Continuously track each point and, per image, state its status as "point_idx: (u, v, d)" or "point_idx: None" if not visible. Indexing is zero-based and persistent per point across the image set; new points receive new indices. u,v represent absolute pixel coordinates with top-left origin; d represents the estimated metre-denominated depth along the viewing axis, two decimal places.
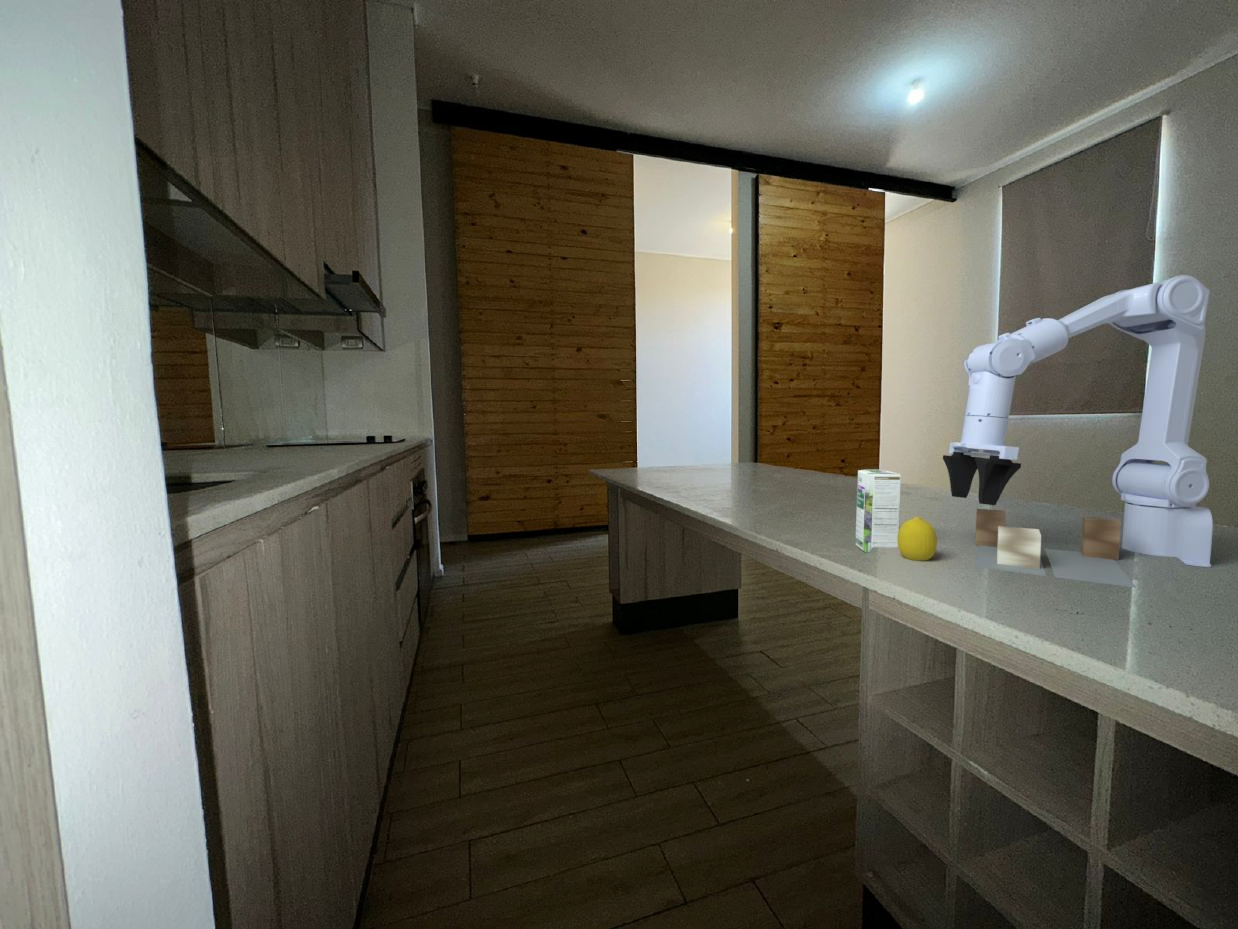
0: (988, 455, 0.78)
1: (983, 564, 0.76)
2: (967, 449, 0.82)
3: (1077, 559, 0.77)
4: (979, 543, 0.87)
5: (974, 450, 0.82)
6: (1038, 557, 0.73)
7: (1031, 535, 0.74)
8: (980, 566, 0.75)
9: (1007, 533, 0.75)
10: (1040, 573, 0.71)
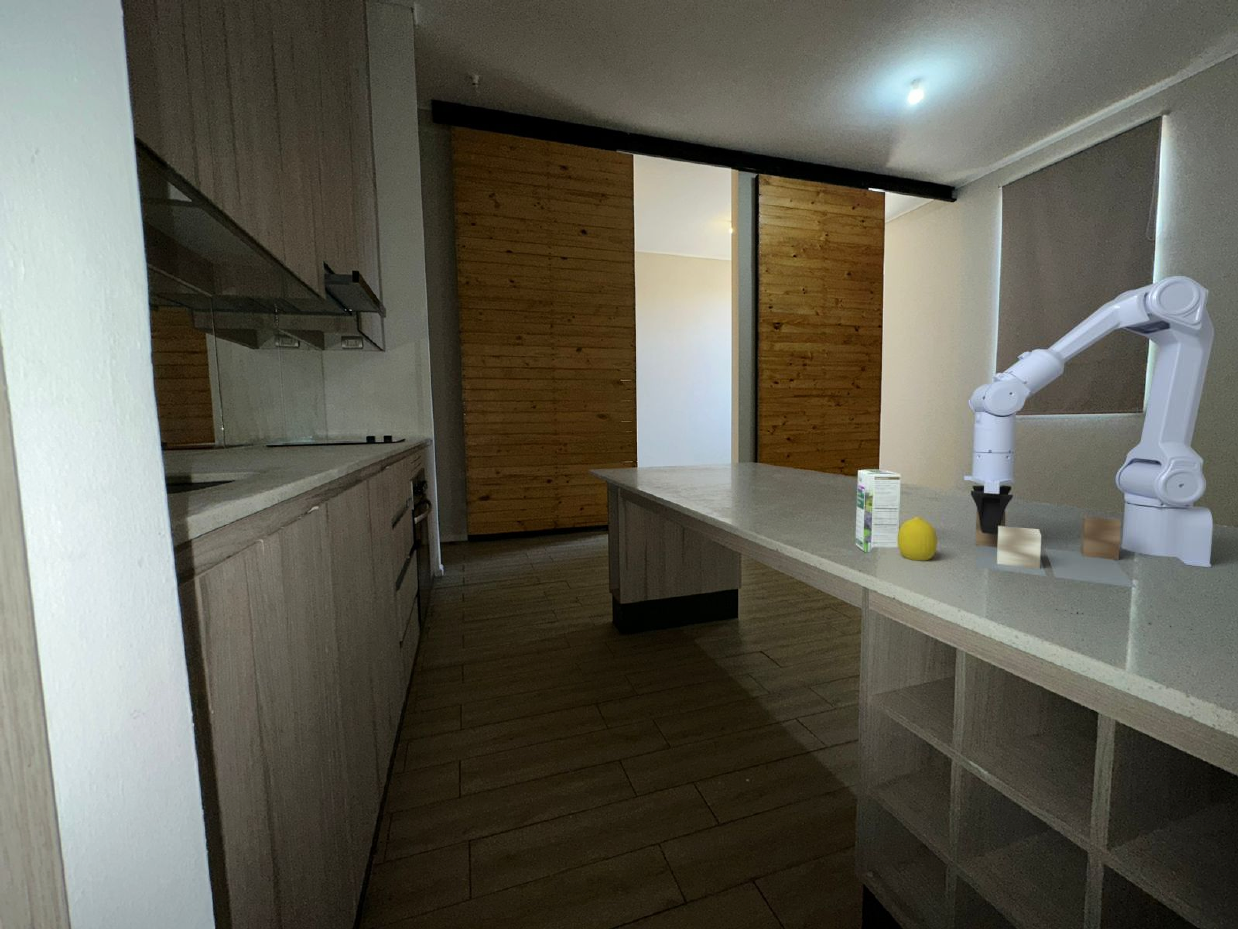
0: None
1: (983, 564, 0.76)
2: None
3: (1077, 559, 0.77)
4: (979, 543, 0.87)
5: None
6: (1038, 557, 0.73)
7: (1031, 535, 0.74)
8: (980, 566, 0.75)
9: (1007, 533, 0.75)
10: (1040, 573, 0.71)
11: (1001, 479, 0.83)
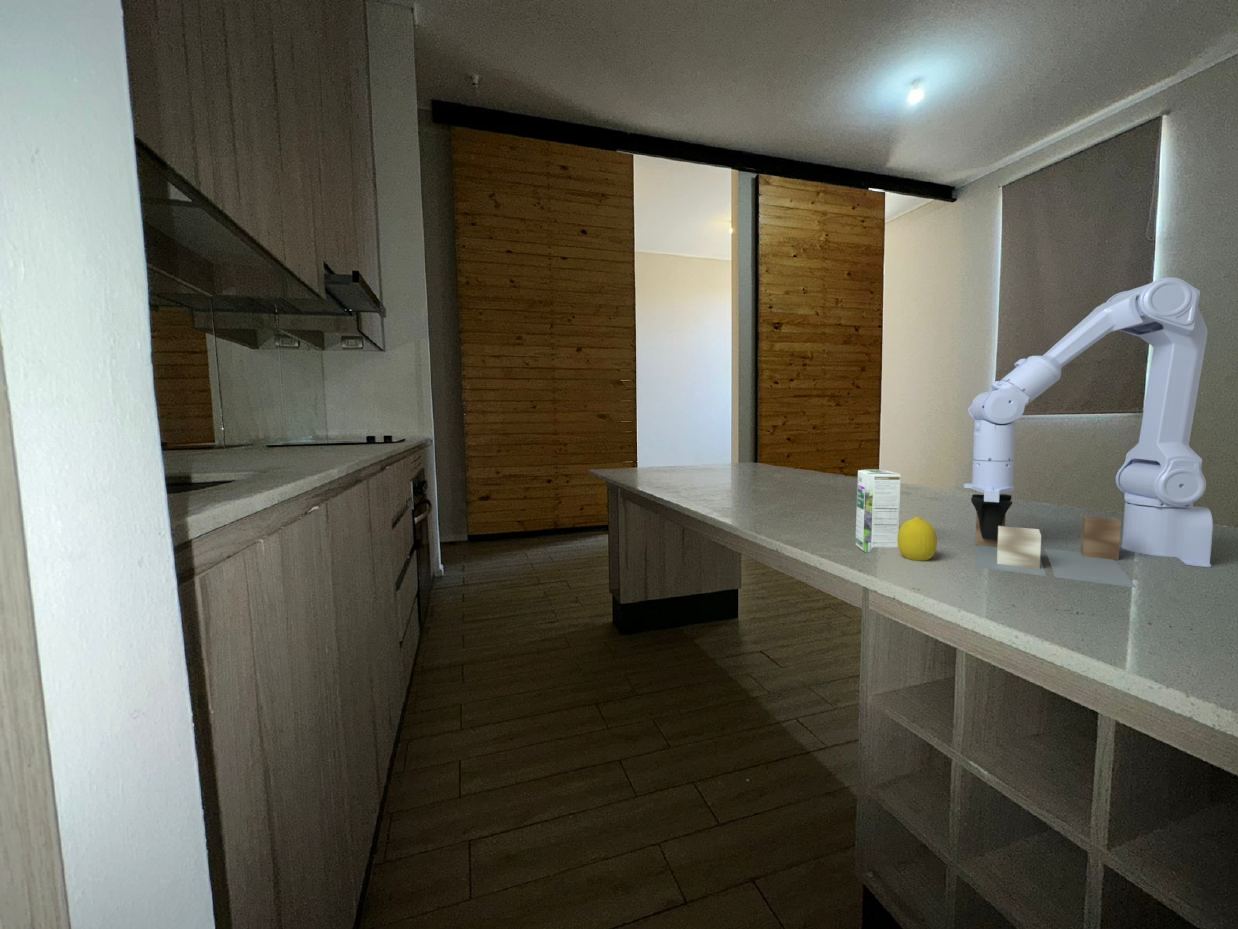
0: None
1: (983, 564, 0.76)
2: None
3: (1077, 559, 0.77)
4: (979, 543, 0.87)
5: None
6: (1038, 557, 0.73)
7: (1031, 535, 0.74)
8: (980, 566, 0.75)
9: (1007, 533, 0.75)
10: (1040, 573, 0.71)
11: (1001, 487, 0.83)
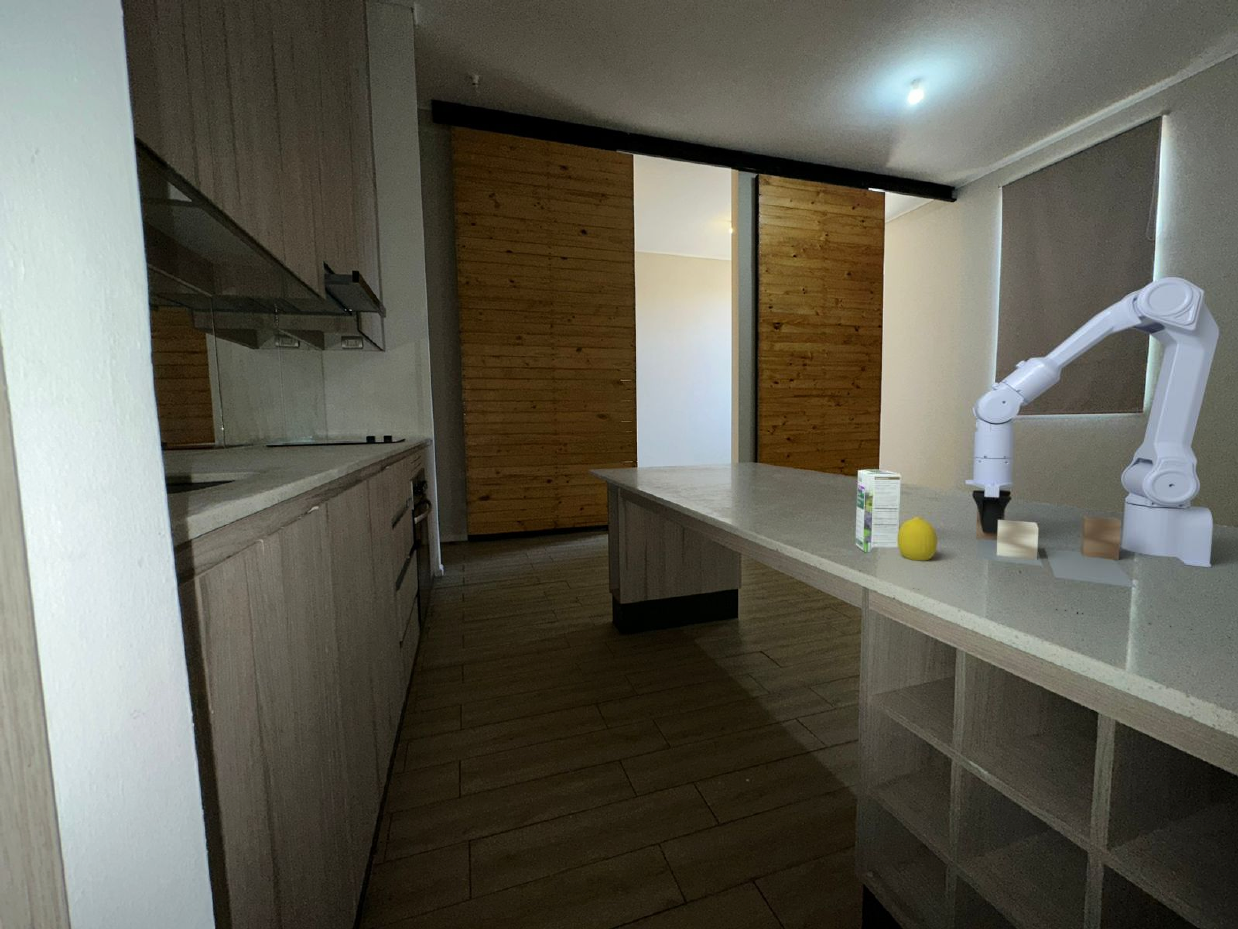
0: None
1: (983, 555, 0.81)
2: None
3: (1077, 559, 0.77)
4: (980, 536, 0.91)
5: None
6: (1035, 548, 0.78)
7: (1029, 528, 0.78)
8: (981, 557, 0.80)
9: (1006, 526, 0.80)
10: (1037, 563, 0.76)
11: (1000, 483, 0.88)
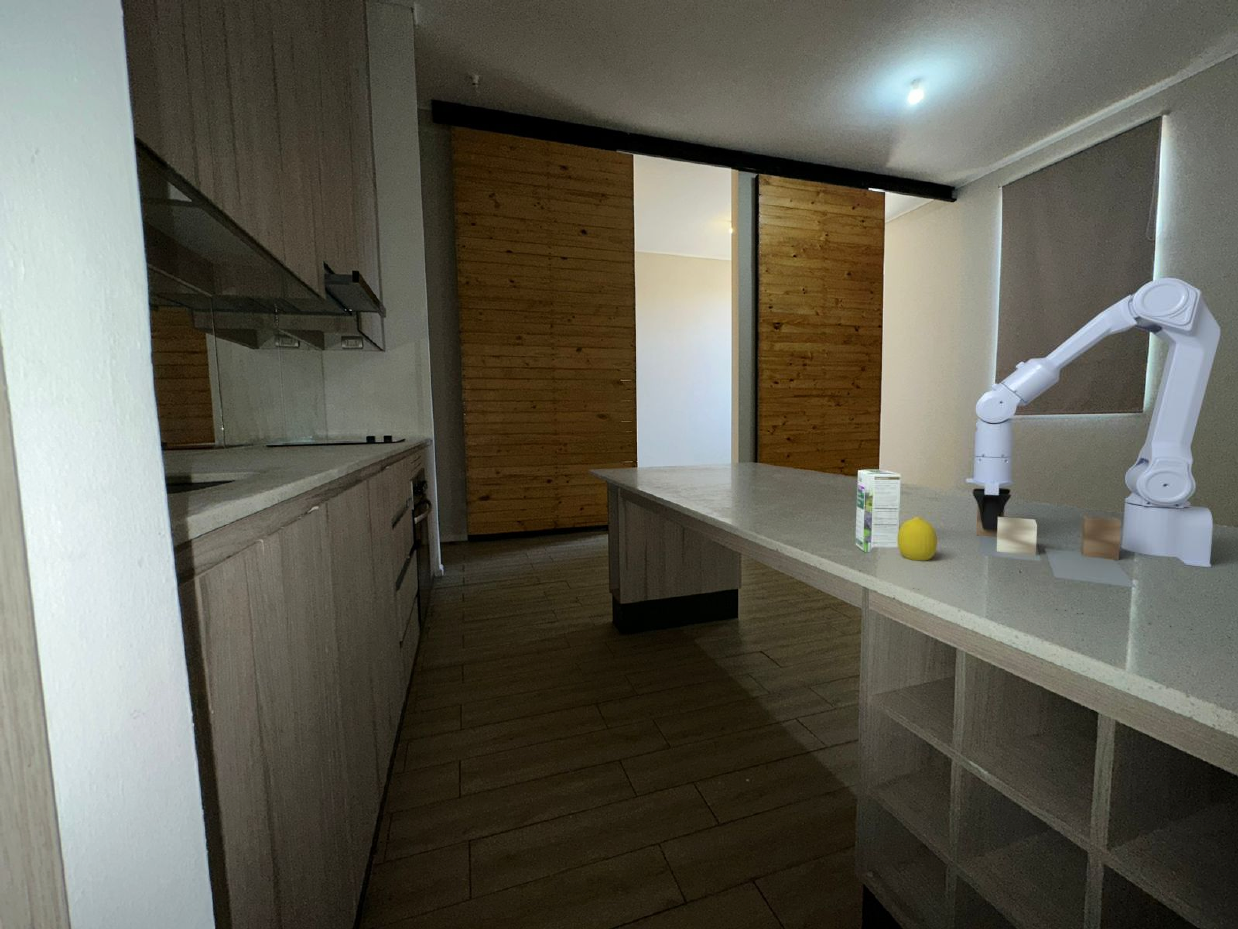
0: None
1: (984, 551, 0.83)
2: None
3: (1077, 559, 0.77)
4: (980, 533, 0.94)
5: None
6: (1034, 545, 0.80)
7: (1028, 524, 0.80)
8: (981, 553, 0.82)
9: (1006, 523, 0.82)
10: (1036, 559, 0.78)
11: (1000, 481, 0.90)
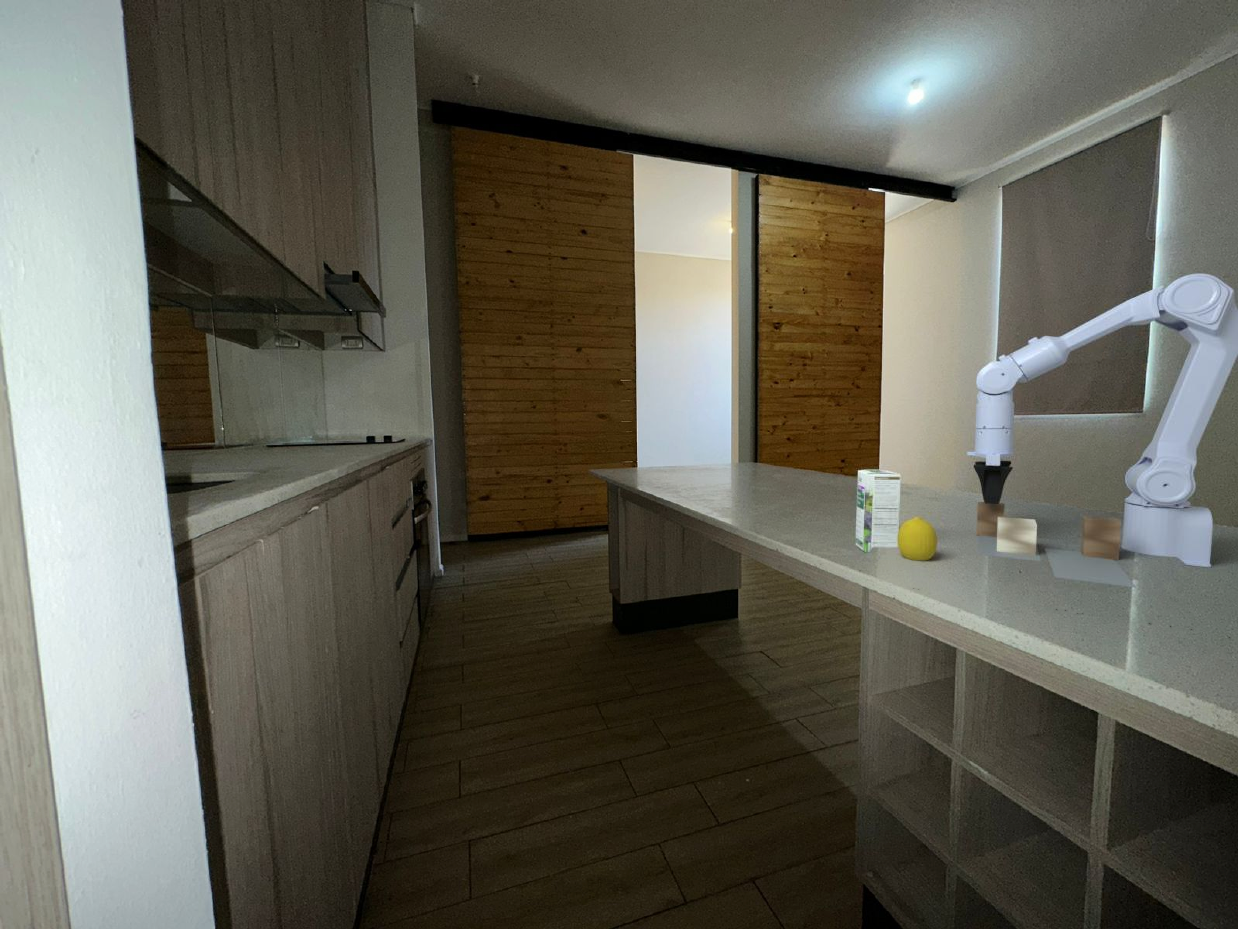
0: None
1: (984, 551, 0.83)
2: None
3: (1077, 559, 0.77)
4: (980, 533, 0.94)
5: None
6: (1034, 545, 0.80)
7: (1028, 524, 0.80)
8: (981, 553, 0.82)
9: (1006, 523, 0.82)
10: (1036, 559, 0.78)
11: (1002, 453, 0.90)
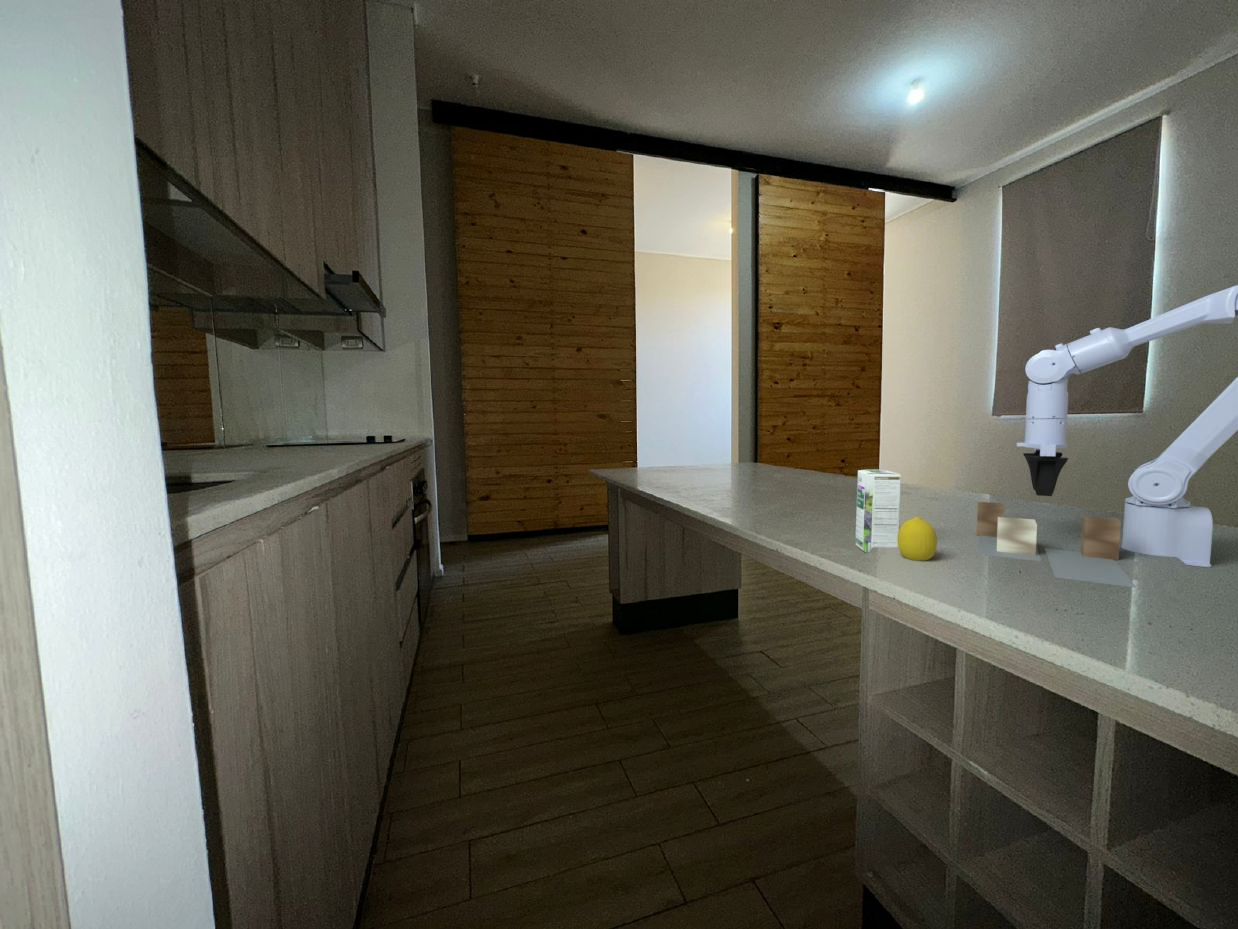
0: None
1: (984, 551, 0.83)
2: None
3: (1077, 559, 0.77)
4: (980, 533, 0.94)
5: None
6: (1034, 545, 0.80)
7: (1028, 524, 0.80)
8: (981, 553, 0.82)
9: (1006, 523, 0.82)
10: (1036, 559, 0.78)
11: (1055, 443, 0.87)
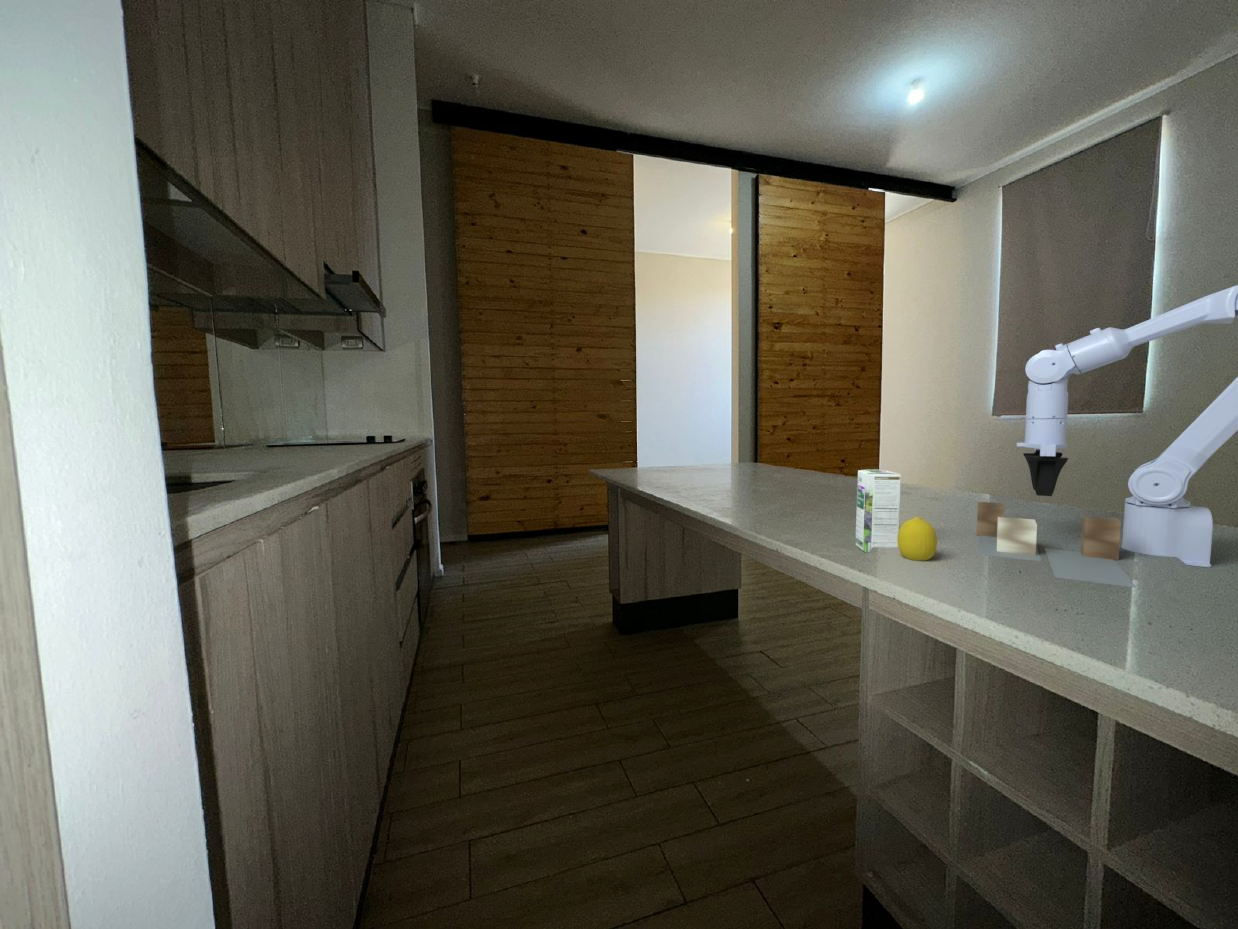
0: None
1: (984, 551, 0.83)
2: None
3: (1077, 559, 0.77)
4: (980, 533, 0.94)
5: None
6: (1034, 545, 0.80)
7: (1028, 524, 0.80)
8: (981, 553, 0.82)
9: (1006, 523, 0.82)
10: (1036, 559, 0.78)
11: (1055, 443, 0.87)
